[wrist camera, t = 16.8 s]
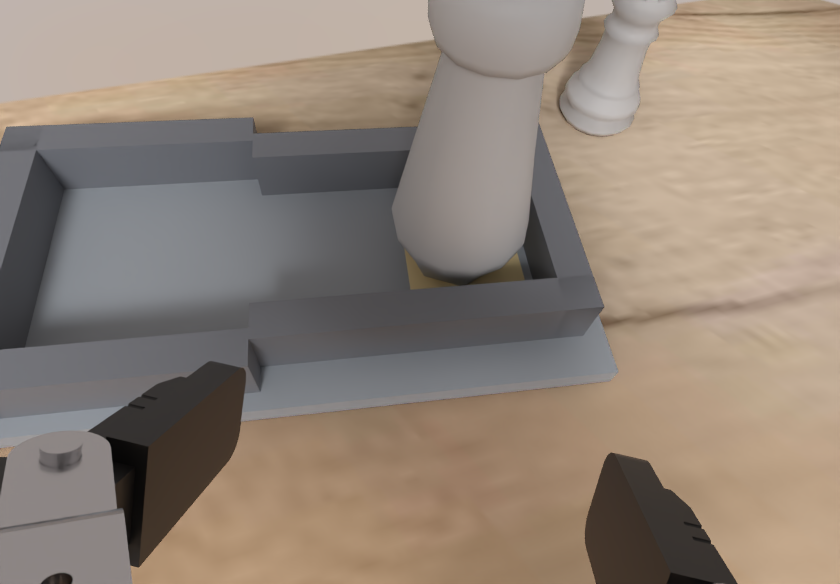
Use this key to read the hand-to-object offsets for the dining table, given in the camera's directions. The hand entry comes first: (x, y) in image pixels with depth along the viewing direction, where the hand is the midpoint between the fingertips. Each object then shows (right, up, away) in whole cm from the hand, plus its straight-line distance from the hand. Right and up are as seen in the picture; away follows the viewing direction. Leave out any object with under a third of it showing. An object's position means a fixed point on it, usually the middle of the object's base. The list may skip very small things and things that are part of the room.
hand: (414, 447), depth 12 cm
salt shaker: (+2, +5, +14) cm, 15 cm away
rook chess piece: (+10, +14, +21) cm, 27 cm away
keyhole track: (-5, +4, +13) cm, 15 cm away
